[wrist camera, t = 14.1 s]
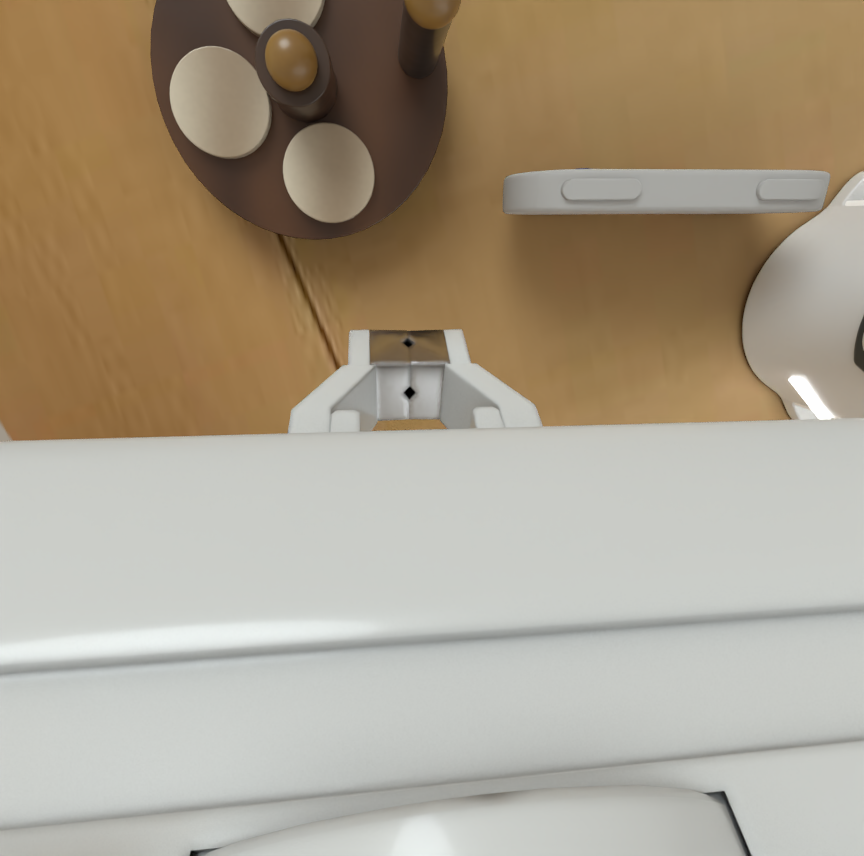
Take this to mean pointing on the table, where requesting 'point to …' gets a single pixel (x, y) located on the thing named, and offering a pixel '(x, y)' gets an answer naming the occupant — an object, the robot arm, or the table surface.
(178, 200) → the table surface
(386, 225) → the table surface
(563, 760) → the robot arm
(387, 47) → the brown round base
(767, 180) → the game controller
